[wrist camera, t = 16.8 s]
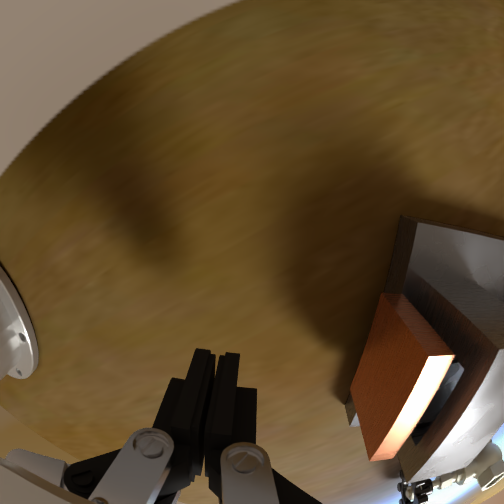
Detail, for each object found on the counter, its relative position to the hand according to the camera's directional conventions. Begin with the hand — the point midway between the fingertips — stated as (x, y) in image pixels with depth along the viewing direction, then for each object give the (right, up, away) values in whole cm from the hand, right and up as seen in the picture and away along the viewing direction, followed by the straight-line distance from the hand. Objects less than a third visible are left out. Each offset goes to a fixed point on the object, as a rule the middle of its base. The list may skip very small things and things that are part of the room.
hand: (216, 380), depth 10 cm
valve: (+22, -17, +9) cm, 30 cm away
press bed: (+18, -1, +5) cm, 19 cm away
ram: (+14, -1, +3) cm, 14 cm away
